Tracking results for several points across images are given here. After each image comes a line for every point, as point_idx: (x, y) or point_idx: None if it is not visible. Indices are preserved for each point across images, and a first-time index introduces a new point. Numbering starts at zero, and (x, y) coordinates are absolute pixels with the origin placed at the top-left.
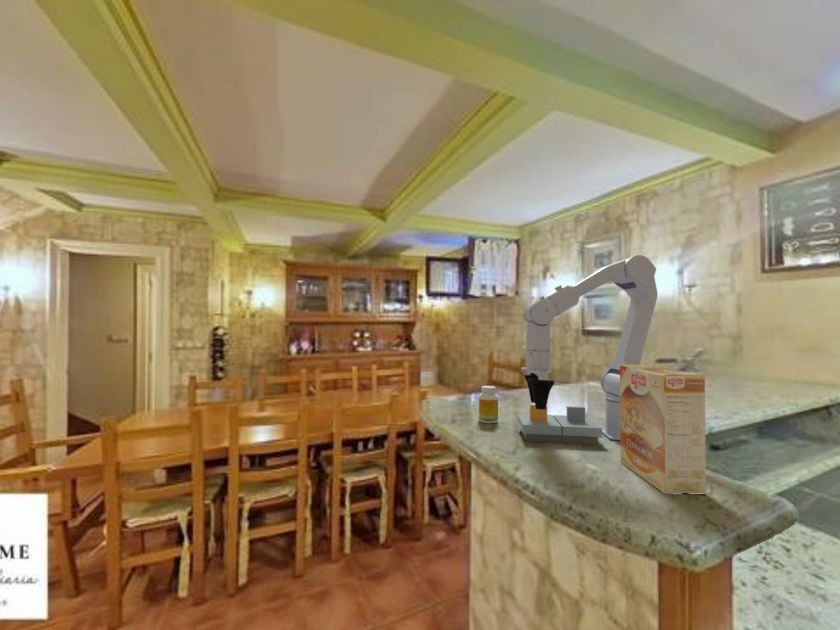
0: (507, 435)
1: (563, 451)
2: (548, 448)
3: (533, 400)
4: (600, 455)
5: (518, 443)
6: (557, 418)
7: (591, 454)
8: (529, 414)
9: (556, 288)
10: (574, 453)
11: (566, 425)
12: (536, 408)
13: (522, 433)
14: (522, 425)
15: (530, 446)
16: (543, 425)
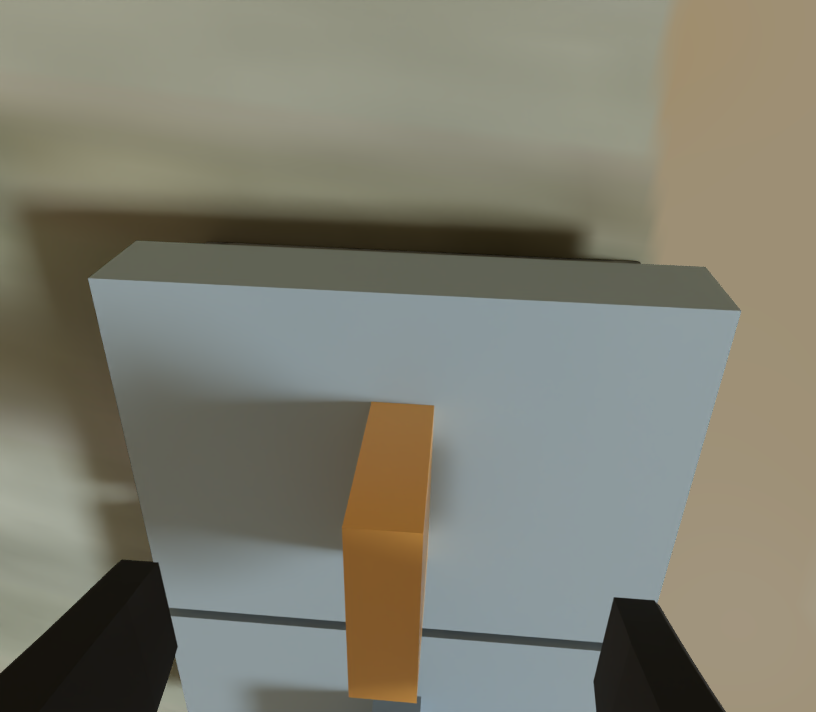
0: (397, 69)
1: (39, 463)
2: (70, 384)
3: (616, 648)
4: (51, 624)
5: (121, 155)
6: (483, 653)
7: (49, 591)
8: (680, 448)
9: None
10: (25, 514)
11: (213, 647)
12: (115, 565)
13: (491, 255)
14: (181, 270)
15: (67, 254)
16: (144, 478)
